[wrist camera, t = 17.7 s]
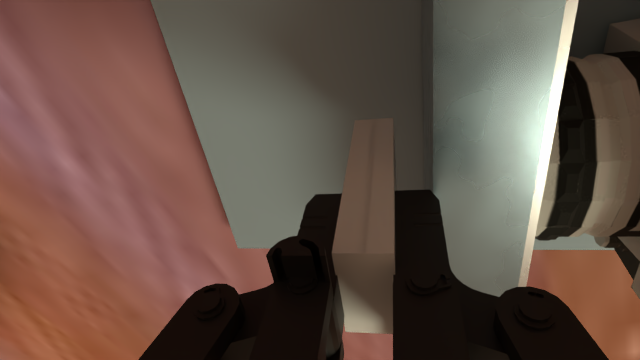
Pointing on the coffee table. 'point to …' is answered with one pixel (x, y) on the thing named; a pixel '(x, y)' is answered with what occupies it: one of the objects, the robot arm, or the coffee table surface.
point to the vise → (314, 96)
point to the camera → (598, 151)
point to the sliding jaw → (491, 127)
